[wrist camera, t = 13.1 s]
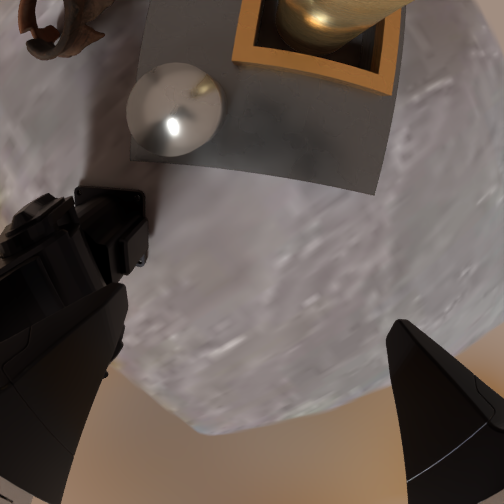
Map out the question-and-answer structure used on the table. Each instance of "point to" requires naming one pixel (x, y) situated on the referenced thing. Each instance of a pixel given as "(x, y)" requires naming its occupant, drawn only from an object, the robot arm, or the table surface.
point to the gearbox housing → (261, 97)
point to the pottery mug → (74, 32)
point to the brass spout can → (328, 22)
